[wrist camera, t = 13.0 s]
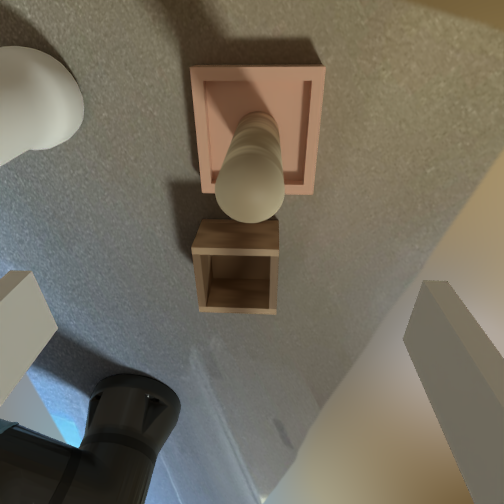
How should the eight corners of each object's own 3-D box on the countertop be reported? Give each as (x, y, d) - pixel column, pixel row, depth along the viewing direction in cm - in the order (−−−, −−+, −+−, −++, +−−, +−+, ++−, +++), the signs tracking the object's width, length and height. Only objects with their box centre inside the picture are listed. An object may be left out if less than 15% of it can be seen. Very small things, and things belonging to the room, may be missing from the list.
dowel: (236, 155, 32) (216, 222, 20) (235, 111, 30) (212, 156, 18) (278, 156, 32) (282, 223, 20) (280, 111, 30) (286, 157, 18)
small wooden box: (208, 278, 42) (199, 311, 37) (202, 218, 37) (191, 247, 32) (275, 280, 42) (276, 314, 37) (278, 220, 37) (279, 249, 32)
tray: (206, 183, 35) (202, 192, 33) (195, 64, 29) (189, 67, 27) (310, 185, 34) (312, 194, 32) (322, 64, 28) (325, 66, 26)
